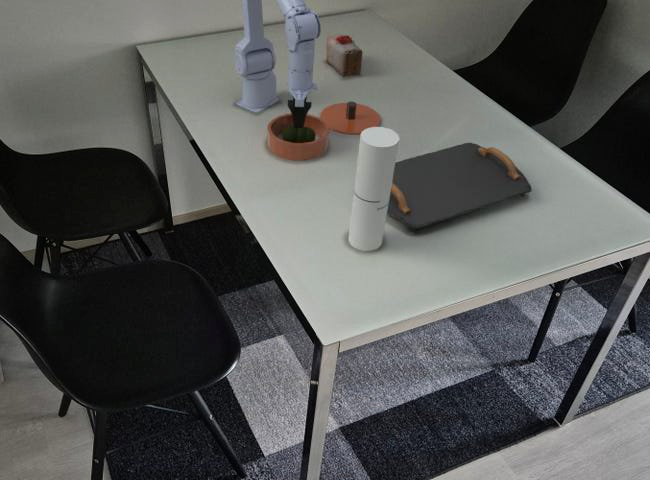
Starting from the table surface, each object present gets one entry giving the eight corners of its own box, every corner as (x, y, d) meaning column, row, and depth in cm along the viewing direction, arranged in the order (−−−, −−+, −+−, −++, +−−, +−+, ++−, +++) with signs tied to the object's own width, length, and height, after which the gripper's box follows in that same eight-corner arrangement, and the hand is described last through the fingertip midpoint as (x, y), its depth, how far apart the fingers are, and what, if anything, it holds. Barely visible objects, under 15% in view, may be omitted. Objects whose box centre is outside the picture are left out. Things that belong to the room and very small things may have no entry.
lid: (342, 100, 180) (344, 83, 177) (391, 119, 173) (394, 102, 170) (307, 122, 171) (308, 104, 167) (357, 143, 164) (360, 125, 160)
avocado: (281, 148, 160) (282, 130, 157) (282, 138, 164) (283, 120, 160) (315, 149, 160) (316, 132, 157) (315, 139, 164) (316, 122, 160)
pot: (292, 123, 170) (293, 107, 167) (339, 143, 163) (341, 126, 160) (255, 146, 161) (255, 129, 158) (302, 169, 154) (303, 151, 151)
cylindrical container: (346, 229, 138) (357, 127, 121) (378, 228, 138) (394, 126, 121) (351, 251, 132) (364, 147, 115) (385, 250, 133) (402, 146, 116)
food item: (321, 60, 199) (323, 29, 192) (344, 56, 201) (347, 25, 194) (341, 79, 190) (344, 47, 183) (364, 75, 192) (368, 43, 185)
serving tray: (477, 148, 163) (482, 126, 159) (541, 197, 148) (549, 174, 144) (347, 184, 150) (349, 162, 146) (403, 242, 135) (407, 219, 131)
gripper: (318, 81, 143) (315, 135, 152) (318, 54, 153) (315, 105, 162) (286, 80, 143) (285, 134, 152) (288, 53, 153) (287, 104, 162)
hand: (298, 119), depth 157 cm, fingers open, 7 cm apart
